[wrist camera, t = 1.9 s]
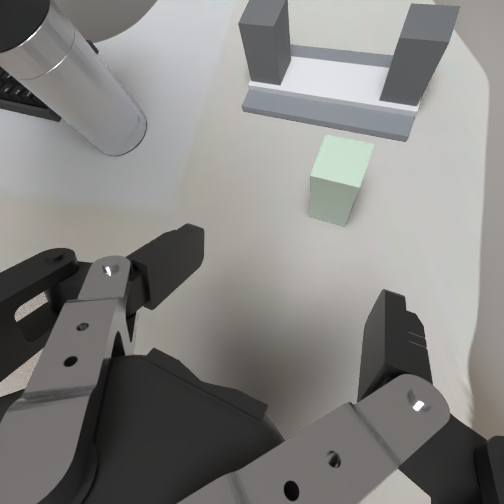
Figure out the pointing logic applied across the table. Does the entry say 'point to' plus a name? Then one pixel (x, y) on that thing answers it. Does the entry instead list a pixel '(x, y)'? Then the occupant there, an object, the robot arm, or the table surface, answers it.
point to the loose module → (337, 178)
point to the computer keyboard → (25, 97)
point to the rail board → (342, 72)
